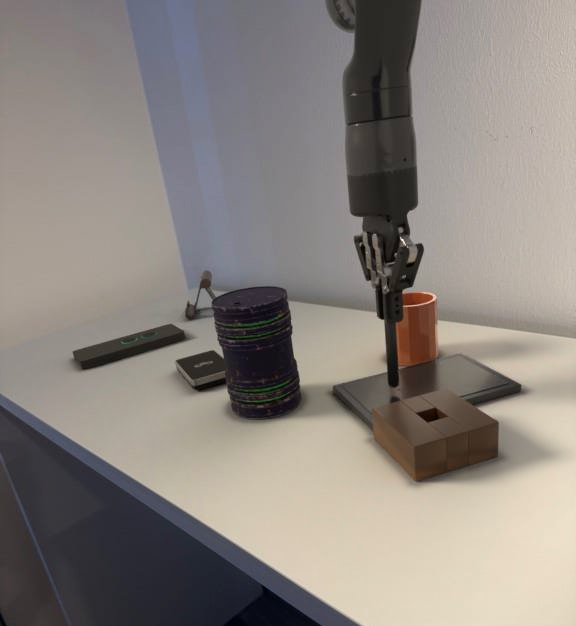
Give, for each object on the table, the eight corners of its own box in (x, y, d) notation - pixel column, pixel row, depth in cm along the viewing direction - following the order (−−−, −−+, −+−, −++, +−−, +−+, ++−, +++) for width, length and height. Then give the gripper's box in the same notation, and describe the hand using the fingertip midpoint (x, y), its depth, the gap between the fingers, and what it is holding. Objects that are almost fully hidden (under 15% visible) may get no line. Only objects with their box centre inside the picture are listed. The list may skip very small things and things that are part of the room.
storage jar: (254, 384, 80) (237, 286, 74) (314, 390, 76) (301, 285, 70) (216, 415, 72) (194, 308, 66) (280, 423, 68) (262, 309, 62)
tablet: (460, 359, 79) (460, 352, 78) (521, 391, 67) (521, 383, 67) (333, 392, 74) (332, 385, 74) (374, 433, 63) (373, 424, 62)
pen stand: (446, 418, 63) (446, 388, 62) (498, 456, 55) (499, 422, 53) (373, 439, 61) (371, 408, 60) (415, 482, 53) (414, 447, 51)
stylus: (396, 383, 70) (390, 276, 64) (401, 387, 68) (396, 278, 63) (386, 386, 69) (379, 279, 64) (391, 390, 68) (384, 281, 62)
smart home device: (185, 330, 104) (80, 361, 96) (186, 339, 105) (82, 370, 96) (170, 322, 111) (71, 350, 102) (172, 330, 112) (74, 358, 103)
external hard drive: (215, 360, 92) (213, 349, 91) (238, 380, 82) (236, 368, 82) (176, 371, 89) (173, 360, 89) (194, 393, 80) (192, 381, 79)
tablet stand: (188, 309, 125) (181, 274, 121) (222, 304, 125) (215, 268, 122) (186, 320, 117) (178, 282, 113) (222, 315, 117) (215, 277, 114)
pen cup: (421, 344, 86) (419, 288, 82) (447, 358, 79) (446, 299, 76) (379, 354, 84) (375, 298, 81) (402, 370, 78) (399, 310, 74)
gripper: (447, 161, 53) (448, 328, 60) (384, 162, 65) (391, 301, 72) (377, 172, 51) (387, 342, 58) (326, 172, 64) (340, 313, 71)
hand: (390, 319), depth 65 cm, fingers closed on stylus, 1 cm apart
